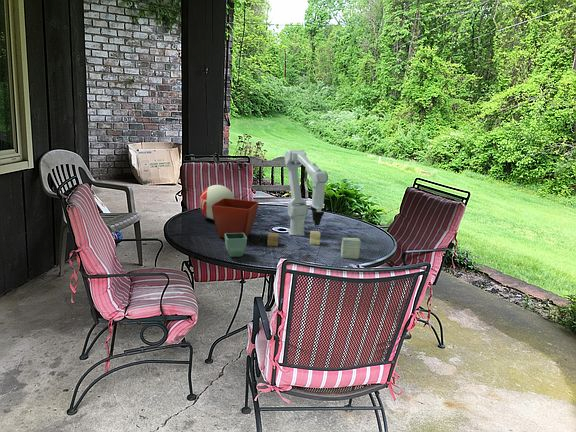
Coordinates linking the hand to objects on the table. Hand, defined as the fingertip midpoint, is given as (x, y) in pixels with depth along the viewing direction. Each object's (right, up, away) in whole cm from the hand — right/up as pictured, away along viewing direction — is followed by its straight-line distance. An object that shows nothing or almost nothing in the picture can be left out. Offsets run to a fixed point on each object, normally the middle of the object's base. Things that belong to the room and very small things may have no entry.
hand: (316, 223), depth 231 cm
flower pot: (-37, -14, -23) cm, 46 cm away
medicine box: (+14, -16, -16) cm, 27 cm away
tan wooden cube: (-21, -10, -4) cm, 24 cm away
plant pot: (-41, -7, +7) cm, 42 cm away
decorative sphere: (-54, +1, +36) cm, 65 cm away
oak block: (-1, -10, +2) cm, 10 cm away
